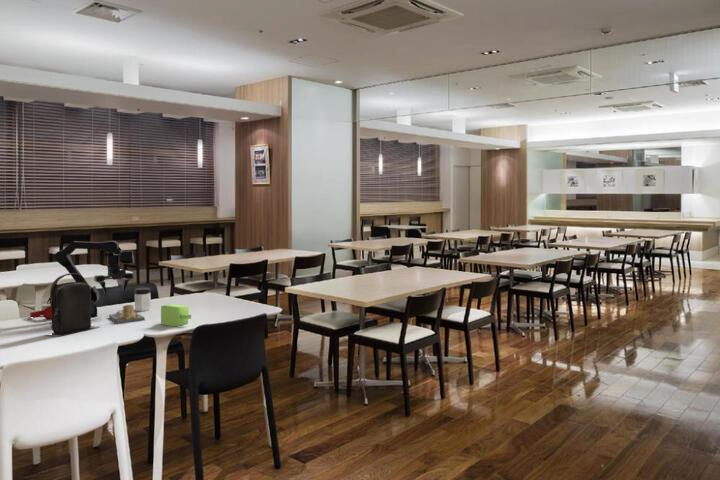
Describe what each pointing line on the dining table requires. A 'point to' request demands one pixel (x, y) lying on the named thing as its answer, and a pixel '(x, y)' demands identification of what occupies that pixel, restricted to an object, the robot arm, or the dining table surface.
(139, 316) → the plate
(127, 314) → the brass gear
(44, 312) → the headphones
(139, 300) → the jar
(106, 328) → the dining table surface
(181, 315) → the gearbox
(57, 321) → the shoulder bag
